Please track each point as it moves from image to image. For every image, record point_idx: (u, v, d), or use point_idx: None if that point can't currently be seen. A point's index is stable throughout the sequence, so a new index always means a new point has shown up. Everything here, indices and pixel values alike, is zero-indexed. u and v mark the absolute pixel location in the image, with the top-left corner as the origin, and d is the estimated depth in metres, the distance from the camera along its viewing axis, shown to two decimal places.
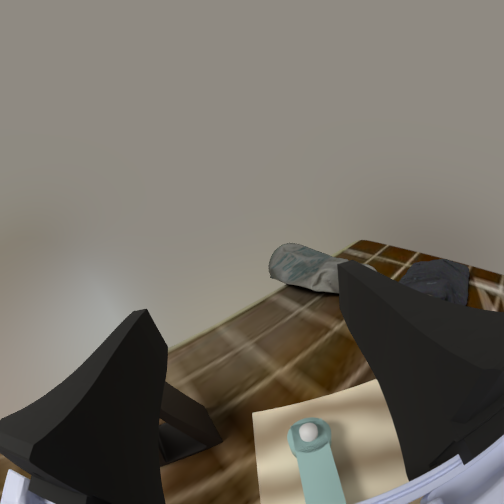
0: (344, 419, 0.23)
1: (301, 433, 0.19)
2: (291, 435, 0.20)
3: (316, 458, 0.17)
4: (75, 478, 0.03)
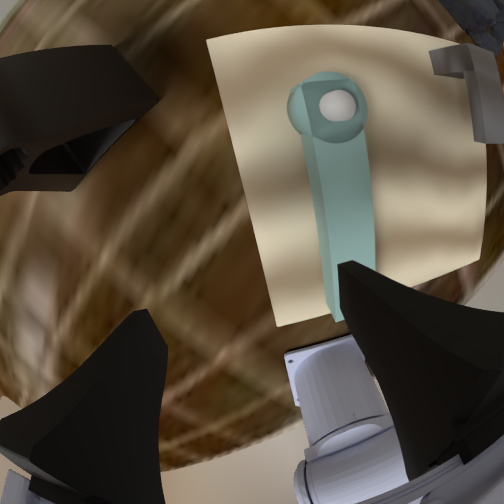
0: (365, 76, 0.14)
1: (330, 110, 0.11)
2: (304, 103, 0.12)
3: (345, 156, 0.13)
4: (75, 478, 0.03)
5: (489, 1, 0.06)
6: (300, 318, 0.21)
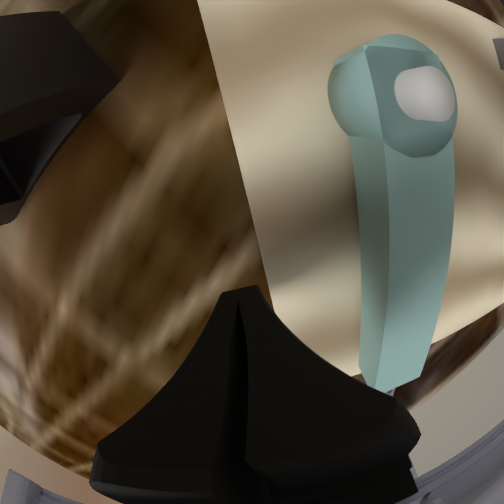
0: None
1: (421, 99, 0.05)
2: (370, 82, 0.06)
3: (427, 181, 0.07)
4: (239, 494, 0.03)
5: None
6: None
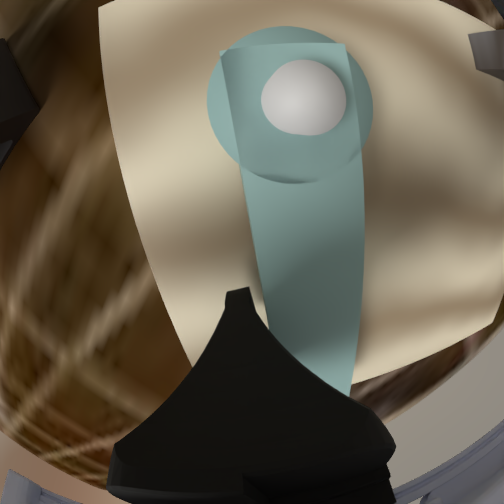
0: (371, 54, 0.07)
1: (277, 109, 0.05)
2: (224, 95, 0.05)
3: (315, 212, 0.07)
4: (262, 492, 0.03)
5: None
6: None
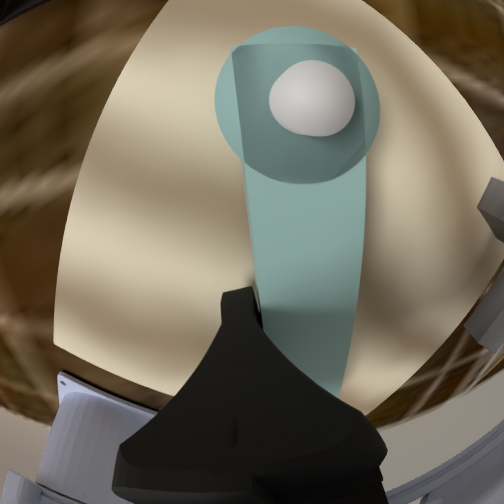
0: (396, 127, 0.08)
1: (286, 107, 0.05)
2: (232, 90, 0.05)
3: (316, 214, 0.07)
4: (269, 491, 0.03)
5: None
6: (82, 355, 0.12)
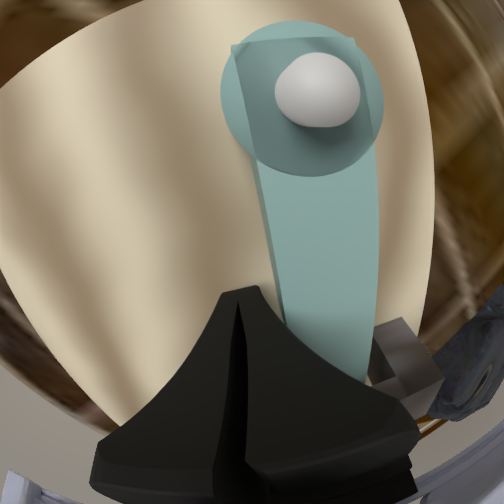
0: None
1: (294, 101, 0.04)
2: (238, 89, 0.05)
3: (331, 205, 0.06)
4: (239, 495, 0.03)
5: (469, 395, 0.14)
6: None
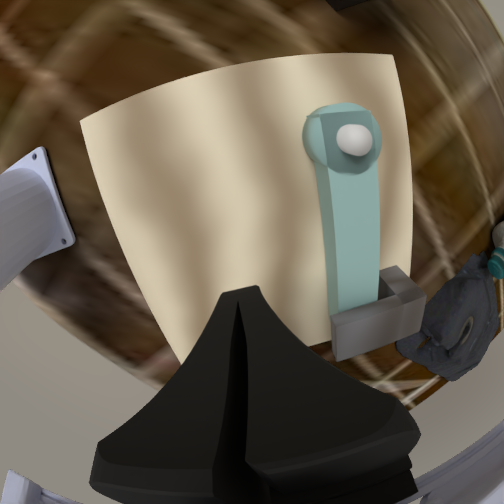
0: None
1: (347, 145, 0.12)
2: (321, 135, 0.12)
3: (357, 188, 0.14)
4: (239, 495, 0.03)
5: (455, 339, 0.21)
6: (90, 145, 0.14)
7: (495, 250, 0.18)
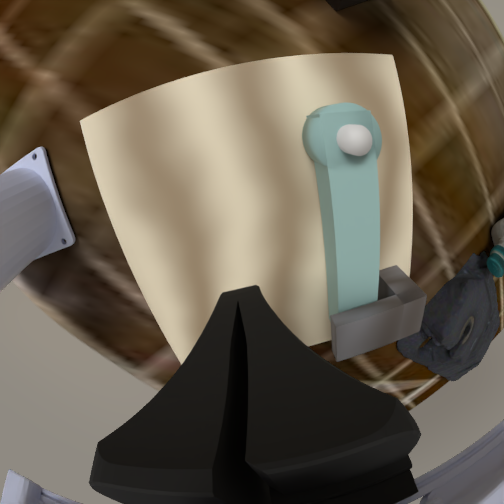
0: None
1: (347, 145, 0.12)
2: (321, 135, 0.12)
3: (357, 188, 0.14)
4: (239, 495, 0.03)
5: (456, 338, 0.21)
6: (90, 145, 0.14)
7: (494, 248, 0.18)
